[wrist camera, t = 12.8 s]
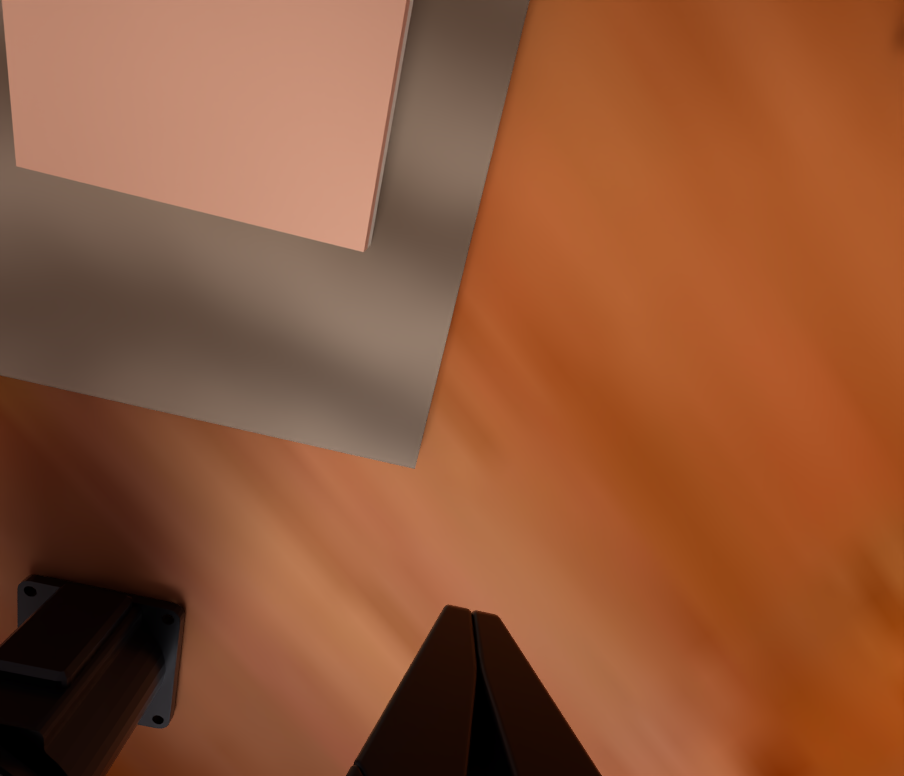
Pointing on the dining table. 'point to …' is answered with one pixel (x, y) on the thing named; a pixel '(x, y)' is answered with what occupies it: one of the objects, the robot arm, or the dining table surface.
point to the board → (268, 271)
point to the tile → (214, 104)
